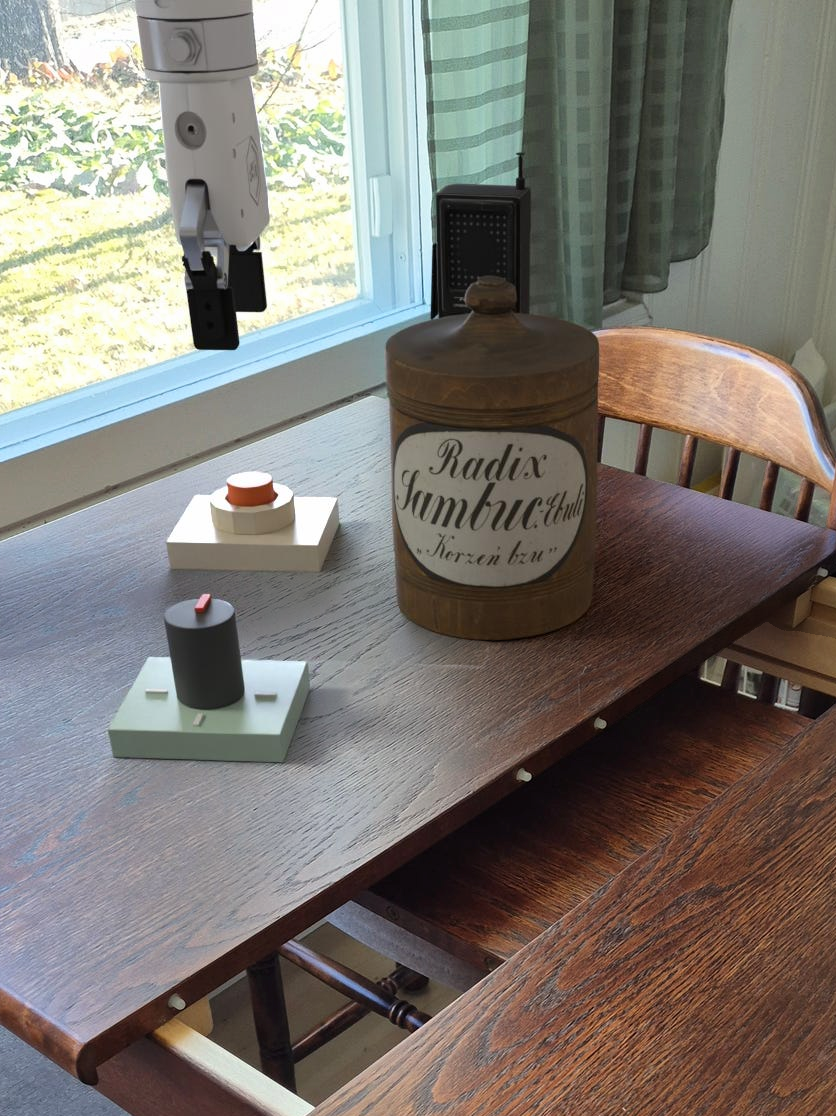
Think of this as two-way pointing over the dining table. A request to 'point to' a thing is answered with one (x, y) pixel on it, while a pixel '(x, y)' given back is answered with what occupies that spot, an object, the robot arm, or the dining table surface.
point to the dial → (204, 652)
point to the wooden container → (493, 468)
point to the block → (254, 533)
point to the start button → (250, 489)
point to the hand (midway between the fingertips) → (232, 329)
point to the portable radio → (480, 242)
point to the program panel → (212, 716)
